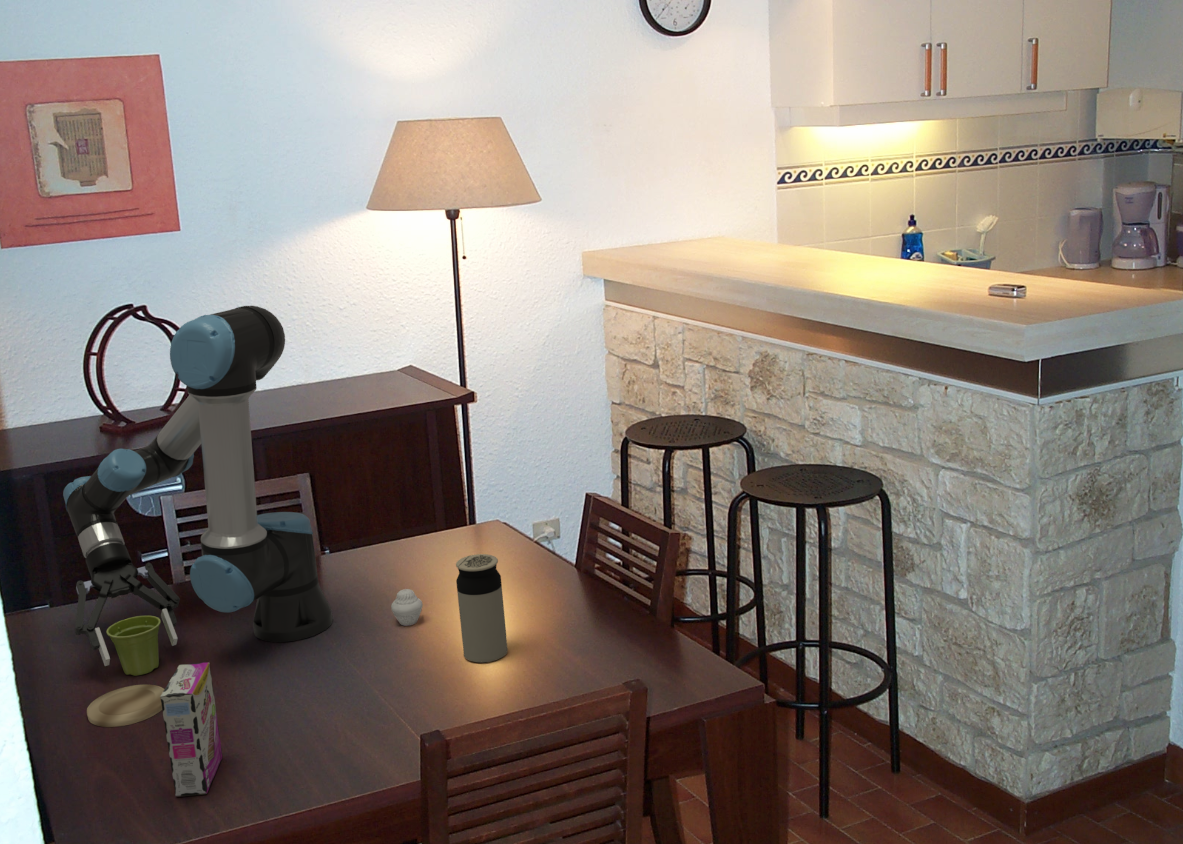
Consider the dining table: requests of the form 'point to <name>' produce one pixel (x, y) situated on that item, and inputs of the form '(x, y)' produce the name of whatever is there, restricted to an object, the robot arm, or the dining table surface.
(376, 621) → the dining table surface
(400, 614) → the muffin
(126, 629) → the plant pot
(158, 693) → the plate
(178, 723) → the candy bar box
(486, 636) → the travel mug
